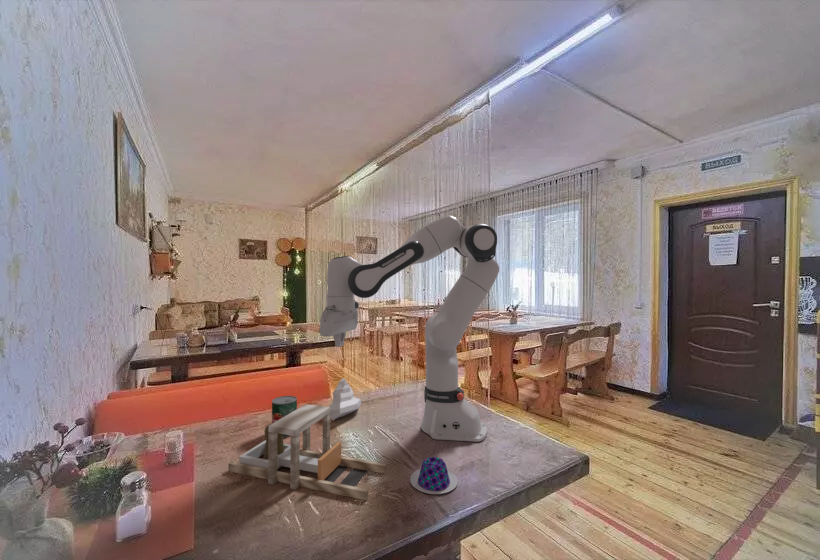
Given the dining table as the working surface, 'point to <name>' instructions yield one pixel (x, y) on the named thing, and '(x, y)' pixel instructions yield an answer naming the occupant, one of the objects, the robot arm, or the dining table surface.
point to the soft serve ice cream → (343, 401)
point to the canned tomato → (283, 407)
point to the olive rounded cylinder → (279, 444)
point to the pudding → (433, 477)
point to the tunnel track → (294, 426)
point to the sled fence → (306, 463)
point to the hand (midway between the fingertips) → (339, 346)
